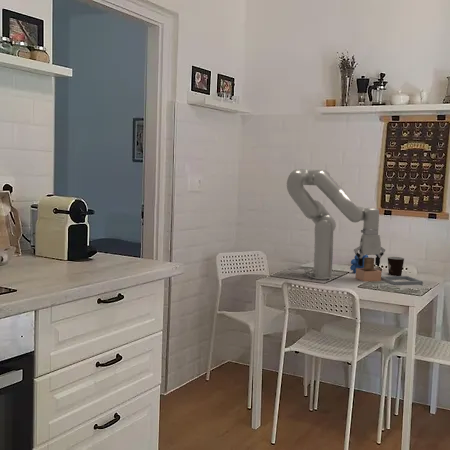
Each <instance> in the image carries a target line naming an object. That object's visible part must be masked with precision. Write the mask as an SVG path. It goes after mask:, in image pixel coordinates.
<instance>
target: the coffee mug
mask: <svg viewBox="0 0 450 450" xmlns="http://www.w3.org/2000/svg"><path fill="white" fill-rule="evenodd" d="M404 262H405V258H404V257H400V256H388V257H387V266H388V267H387V268H388V276H389V275H390V276H402V273H403V268H404Z"/></svg>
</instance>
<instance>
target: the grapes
mask: <svg viewBox="0 0 450 450" xmlns="http://www.w3.org/2000/svg"><path fill="white" fill-rule="evenodd" d="M366 257H369V255H364V256H363V257H362V258H363V266H359V264H358V257H357V256H356V254H354V258H353V259H351V261H350V264H351V265H350V266H349V269H350V271H352V274H356V268H364V258H366Z"/></svg>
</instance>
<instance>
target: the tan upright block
mask: <svg viewBox="0 0 450 450" xmlns="http://www.w3.org/2000/svg"><path fill="white" fill-rule="evenodd" d="M374 269H375V258H374V257H369V256H368V257H366V258H364V271H374Z"/></svg>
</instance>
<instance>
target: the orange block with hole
mask: <svg viewBox="0 0 450 450" xmlns="http://www.w3.org/2000/svg"><path fill="white" fill-rule="evenodd" d="M381 277H382V270H379V269H376V268H374V271H364V268H356V273H355V279H356V280H360V281H362V282H365V283H367V282H368V283H369V282H382V280H381Z"/></svg>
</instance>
